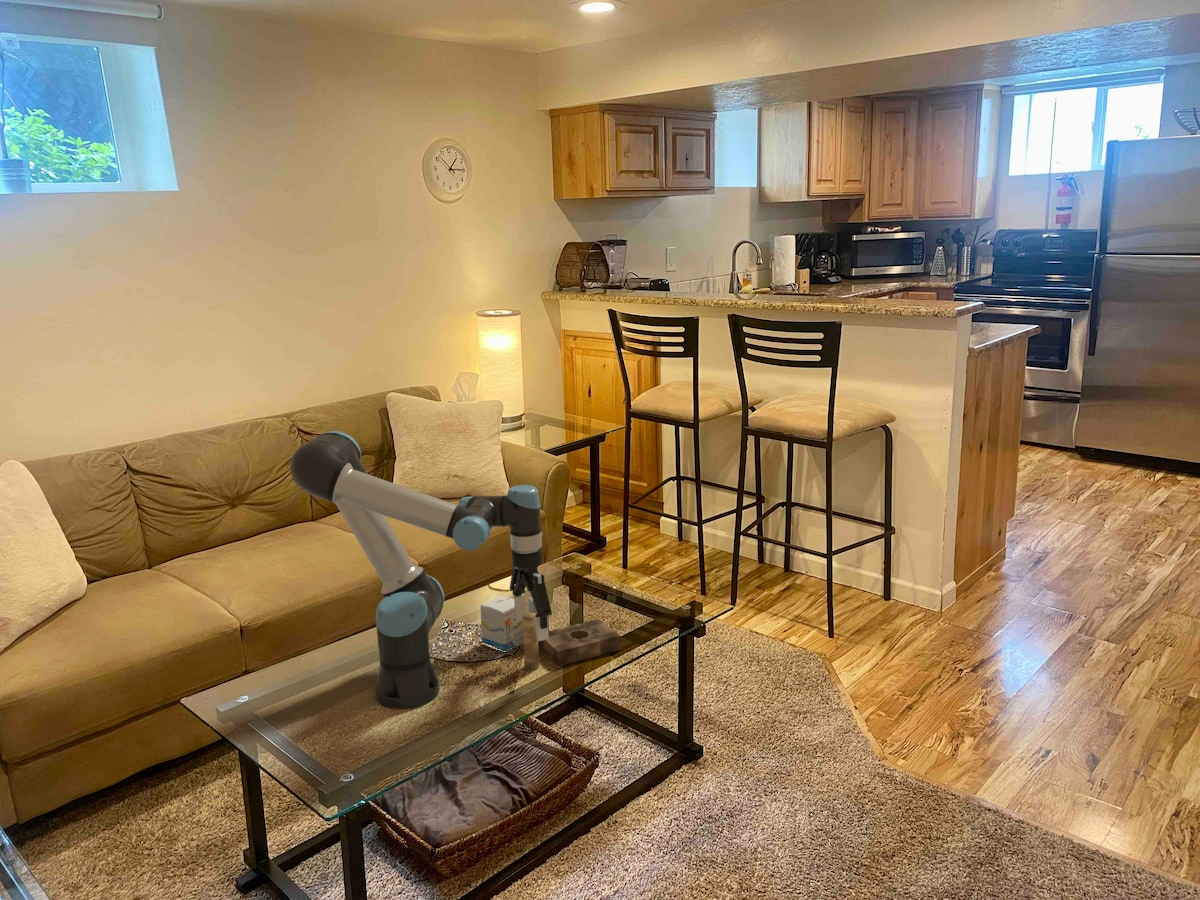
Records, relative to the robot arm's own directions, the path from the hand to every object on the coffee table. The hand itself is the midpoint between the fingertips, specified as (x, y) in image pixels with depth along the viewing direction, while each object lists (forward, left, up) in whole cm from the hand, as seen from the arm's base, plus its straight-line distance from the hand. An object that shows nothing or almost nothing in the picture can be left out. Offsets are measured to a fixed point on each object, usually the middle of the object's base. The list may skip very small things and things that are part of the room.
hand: (531, 629), depth 221 cm
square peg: (+8, +13, -10) cm, 18 cm away
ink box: (-1, +16, -11) cm, 19 cm away
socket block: (+15, +3, -10) cm, 18 cm away
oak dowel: (0, 0, -10) cm, 10 cm away
